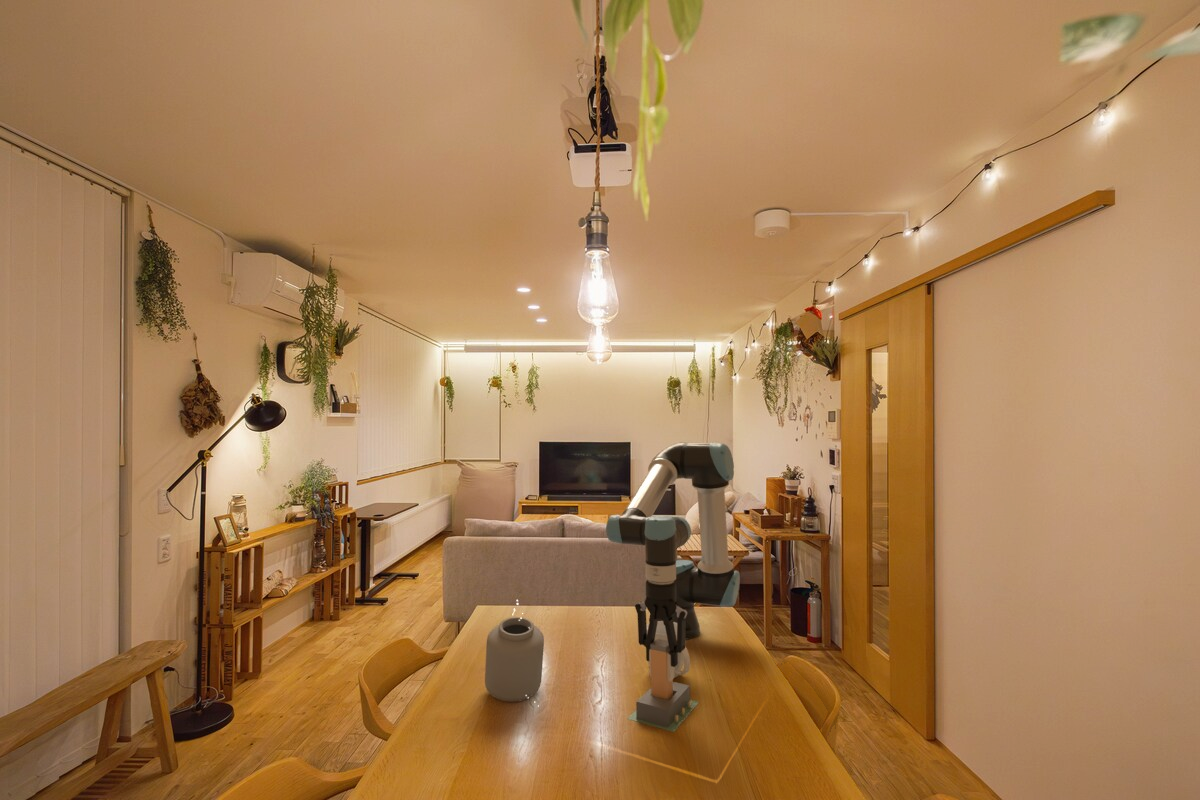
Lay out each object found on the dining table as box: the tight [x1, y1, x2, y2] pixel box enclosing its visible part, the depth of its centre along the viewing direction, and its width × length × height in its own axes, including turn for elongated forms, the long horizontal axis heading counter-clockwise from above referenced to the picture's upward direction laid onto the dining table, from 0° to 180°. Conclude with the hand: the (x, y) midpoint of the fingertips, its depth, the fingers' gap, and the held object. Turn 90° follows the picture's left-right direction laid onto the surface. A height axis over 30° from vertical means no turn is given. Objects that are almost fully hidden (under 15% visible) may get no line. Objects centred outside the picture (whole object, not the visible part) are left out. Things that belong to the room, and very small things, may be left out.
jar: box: [484, 599, 545, 708], centre depth 149 cm, size 19×15×25 cm
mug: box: [647, 621, 691, 679], centre depth 159 cm, size 15×11×13 cm
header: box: [626, 681, 699, 733], centre depth 140 cm, size 16×12×4 cm
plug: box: [650, 639, 674, 700], centre depth 141 cm, size 4×4×14 cm
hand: (661, 676), depth 141 cm, fingers closed on plug, 4 cm apart
